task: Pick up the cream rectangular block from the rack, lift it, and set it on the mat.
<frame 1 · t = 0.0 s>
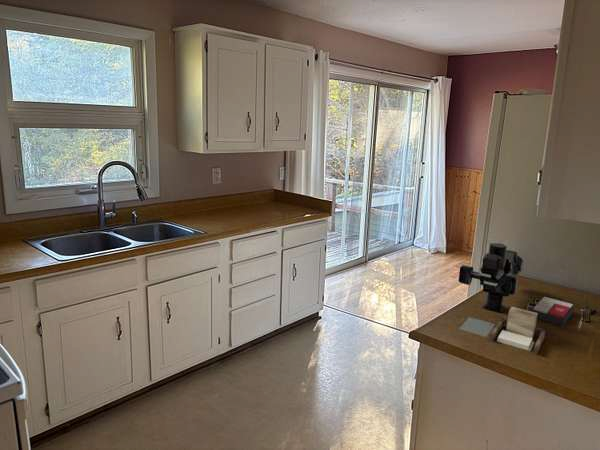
hand: (480, 286, 152), 17 cm above the worktop, tool horizontal, fingers open, 9 cm apart
offcut lower: (515, 345, 149), on the worktop, touching offcut upper
mat: (477, 328, 159), on the worktop
rack: (517, 339, 152), on the worktop
red white carton: (551, 315, 172), on the worktop
cream rectangular block: (519, 336, 154), resting in rack
offcut upper: (514, 341, 149), point 1 cm above the worktop, touching offcut lower
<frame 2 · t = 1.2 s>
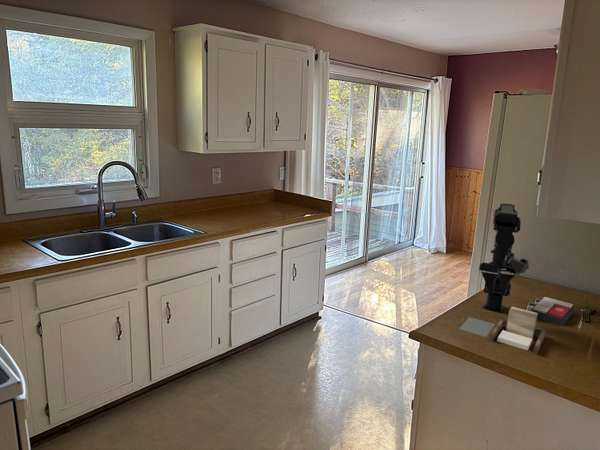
hand: (496, 293, 158), 12 cm above the worktop, tool tilted 15°, fingers open, 9 cm apart
nothing on the worktop moved.
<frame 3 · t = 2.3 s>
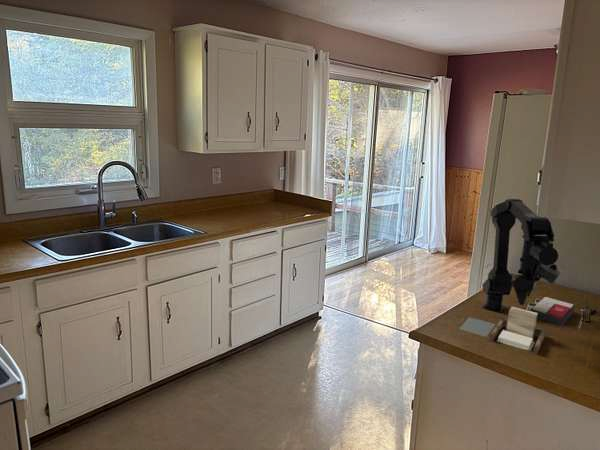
hand: (524, 300, 151), 13 cm above the worktop, tool pointing down, fingers open, 9 cm apart
nothing on the worktop moved.
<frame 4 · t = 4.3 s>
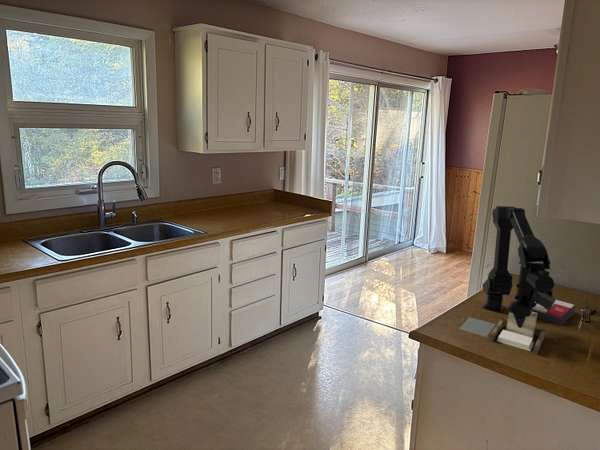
hand: (521, 325, 153), 4 cm above the worktop, tool pointing down, fingers closed on cream rectangular block, 4 cm apart
cream rectangular block: (519, 336, 154), resting in rack, touching gripper
everything else where it was.
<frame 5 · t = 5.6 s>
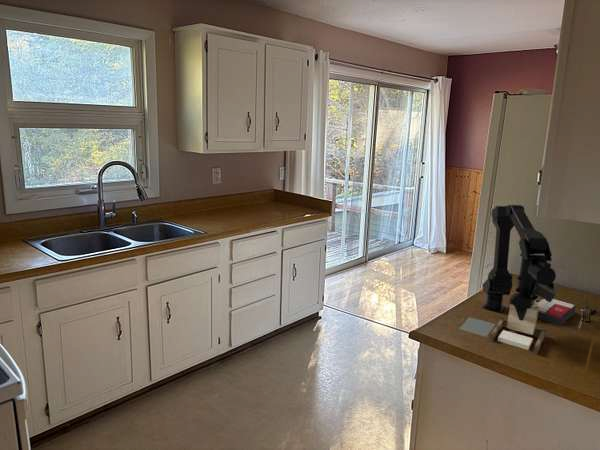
hand: (522, 318, 153), 7 cm above the worktop, tool pointing down, fingers closed on cream rectangular block, 4 cm apart
cream rectangular block: (520, 329, 153), point 3 cm above the worktop, touching gripper
everything else where it was.
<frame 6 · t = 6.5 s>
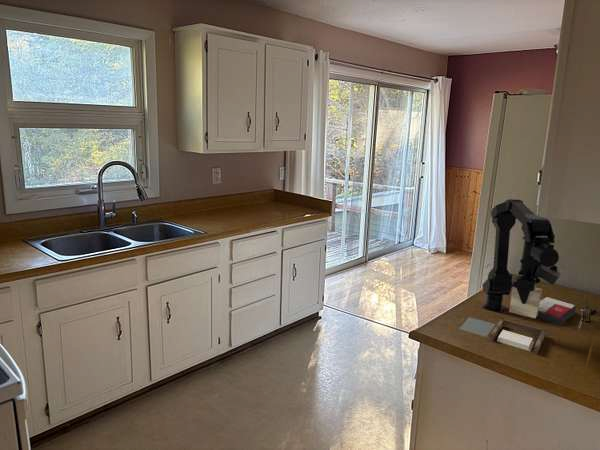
hand: (525, 301, 151), 13 cm above the worktop, tool pointing down, fingers closed on cream rectangular block, 4 cm apart
cream rectangular block: (523, 313, 152), point 8 cm above the worktop, touching gripper
everything else where it was.
when the fingers open (5 cm above the worktop, at t = 10.2 s): cream rectangular block stays where it is, resting on mat.
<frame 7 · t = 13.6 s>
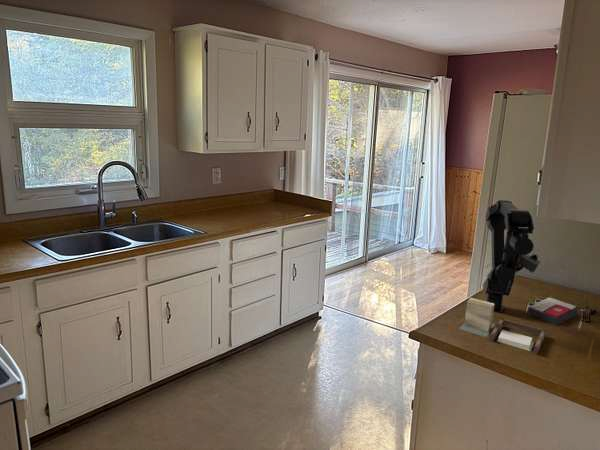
hand: (507, 289, 160), 13 cm above the worktop, tool pointing down, fingers open, 9 cm apart
cream rectangular block: (477, 326, 159), point 1 cm above the worktop, touching mat
at the end: cream rectangular block inside the target area (0.0 cm from its centre), point 0.6 cm above the worktop; the gripper is holding nothing; offcut upper moved 0.8 cm from its start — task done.
